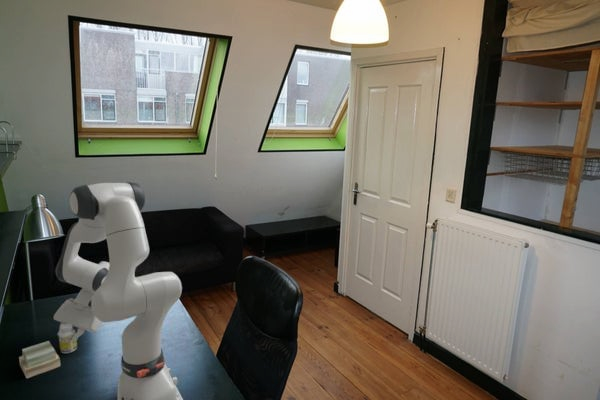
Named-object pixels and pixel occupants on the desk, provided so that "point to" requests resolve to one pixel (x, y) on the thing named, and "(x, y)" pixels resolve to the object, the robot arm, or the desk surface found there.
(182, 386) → the desk surface
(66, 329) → the supplement bottle
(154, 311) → the robot arm
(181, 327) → the desk surface
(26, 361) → the two-tone square platform
